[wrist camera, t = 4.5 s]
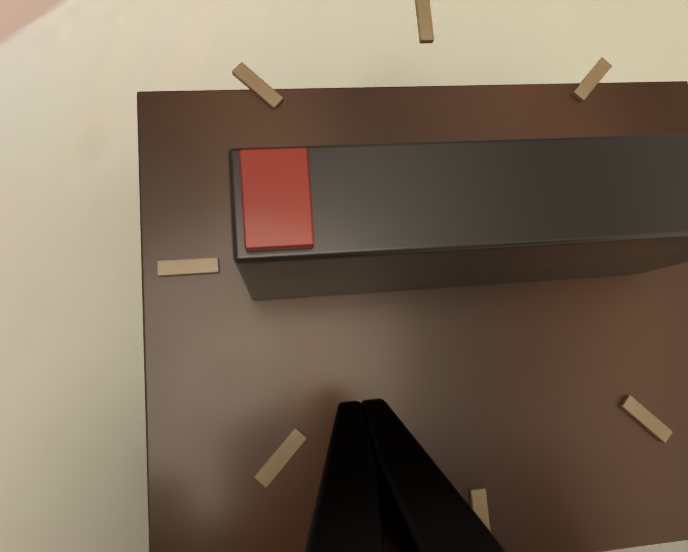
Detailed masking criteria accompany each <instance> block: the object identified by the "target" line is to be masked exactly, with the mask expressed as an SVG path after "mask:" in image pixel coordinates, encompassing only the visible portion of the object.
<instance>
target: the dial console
mask: <svg viewBox="0 0 688 552" xmlns="http://www.w3.org/2000/svg"><path fill="white" fill-rule="evenodd" d="M415 5H416V14H417V23H418V32H419V41H420V43H433V41H434V35H433V27H432V18H431V9H430V1H429V0H415ZM611 67H612V65H611V64H609V63H608V62H607V61H606V60H605V59H604V58H601V59H600V60H599V61H598V62H597V64H596V65H595V66H594V67H593V68H592V70H591V71H590V72H589V73H588V74H587V76H586V77H585V78H584V79H583V80H582V82H581V83H575V84H522V85H470V86H417V87H364V88H312V89H272V88H271V87H270V86H269V85H268V84H267V83H265V82H264V81H263V80H262V79H261V78H260V77H258V76H257V75H256V74H255V73H254V72H253V71H251V70H250V69H249V68H248V67H247V66H246V65H244V64H243V63H242V62H241V63H240V64H239V65H238V66H237V67H236V68H235V69H234V70H233V71H232V74H233V75H234V76H235V77H236V78H237V79H238V80H240V81H241V82H242V83H243V84H244V85H245V86H247V87H248V88H249V89H250V90H207V91H154V92H137V115H138V152H139V189H140V226H141V263H142V300H143V337H144V374H145V411H146V447H147V484H148V521H149V552H304V549H305V544H306V540H307V536H308V531H309V527H310V523H311V518H312V514H313V510H314V505H315V501H316V497H317V493H318V488H319V484H320V480H321V475H322V471H323V467H324V462H325V458H326V454H327V449H328V445H329V441H330V436H331V432H332V428H333V423H334V419H335V415H336V411H337V407H338V404H339V403H340V402H346V401H359V402H360V403H361V402H362V401H363V400H367V399H378V398H380V399H383V400H385V401H386V403H387V404H388V405H389V406H390V408H391V409H392V410H393V411H394V412H395V414H396V415H397V416H398V417H399V419H400V420H401V421H402V422H403V424H404V425H405V426H406V427H407V429H408V430H409V431H410V432H411V434H412V435H413V436H414V437H415V438H416V440H417V441H418V442H419V443H420V445H421V446H422V447H423V448H424V450H425V451H426V452H427V453H428V455H429V456H430V457H431V458H432V460H433V461H434V462H435V463H436V465H437V466H438V467H439V468H440V469H441V471H442V472H443V473H444V474H445V476H446V477H447V478H448V479H449V481H450V482H451V483H452V484H453V486H454V487H455V488H456V489H457V491H458V492H459V493H460V494H461V495H462V497H463V498H464V499H465V500H466V502H467V503H468V504H469V505H470V507H471V508H472V509H473V510H474V512H475V513H476V514H477V515H478V517H479V518H480V519H481V520H482V521H483V523H484V524H485V525H486V526H487V528H488V529H489V530H490V531H491V533H492V534H493V535H494V536H495V538H496V539H497V540H498V541H499V543H500V544H501V545H502V546H503V548H504V549H505V552H601V551H609V550H616V549H623V548H631V547H638V546H645V545H652V544H660V543H667V542H674V541H681V540H688V262H685V263H681V264H677V265H673V266H669V267H665V268H661V269H657V270H652V271H648V272H644V273H640V274H631V275H616V276H601V277H587V278H572V279H557V280H542V281H528V282H513V283H498V284H484V285H469V286H454V287H440V288H425V289H410V290H395V291H381V292H366V293H351V294H337V295H322V296H307V297H292V298H278V299H263V300H253V299H252V298H251V296H250V294H249V292H248V290H247V288H246V286H245V283H244V281H243V279H242V277H241V275H240V273H239V271H238V268H237V266H236V264H235V262H234V260H233V254H232V235H231V216H230V197H229V177H228V158H227V154H228V151H229V149H232V148H258V147H288V146H319V145H350V144H381V143H411V142H442V141H473V140H504V139H534V138H565V137H596V136H627V135H657V134H688V82H687V81H680V82H627V83H599V81H600V80H601V79H602V78H603V76H604V75H605V74H606V73H607V72H608V70H609V69H610V68H611Z"/></svg>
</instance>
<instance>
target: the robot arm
mask: <svg viewBox="0 0 688 552" xmlns="http://www.w3.org/2000/svg"><path fill="white" fill-rule="evenodd" d="M304 552H505V549H504V548H503V546H502V545H501V544H500V543H499V541H498V540H497V539H496V538H495V536H494V535H493V534H492V533H491V531H490V530H489V529H488V528H487V526H486V525H485V524H484V523H483V521H482V520H481V519H480V518H479V517H478V515H477V514H476V513H475V512H474V510H473V509H472V508H471V507H470V505H469V504H468V503H467V502H466V500H465V499H464V498H463V497H462V495H461V494H460V493H459V492H458V491H457V489H456V488H455V487H454V486H453V484H452V483H451V482H450V481H449V479H448V478H447V477H446V476H445V474H444V473H443V472H442V471H441V469H440V468H439V467H438V466H437V465H436V463H435V462H434V461H433V460H432V458H431V457H430V456H429V455H428V453H427V452H426V451H425V450H424V448H423V447H422V446H421V445H420V443H419V442H418V441H417V440H416V438H415V437H414V436H413V435H412V434H411V432H410V431H409V430H408V429H407V427H406V426H405V425H404V424H403V422H402V421H401V420H400V419H399V417H398V416H397V415H396V414H395V412H394V411H393V410H392V409H391V408H390V406H389V405H388V404H387V403H386V401H385V400H383V399H380V398H378V399H367V400H363V401H362V402H361V403H360V402H359V401H346V402H340V403H339V404H338V407H337V411H336V415H335V419H334V423H333V428H332V432H331V436H330V441H329V445H328V449H327V454H326V458H325V462H324V467H323V471H322V475H321V480H320V484H319V488H318V493H317V497H316V501H315V505H314V510H313V514H312V518H311V523H310V527H309V531H308V536H307V540H306V544H305V549H304Z"/></svg>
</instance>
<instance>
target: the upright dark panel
mask: <svg viewBox="0 0 688 552" xmlns="http://www.w3.org/2000/svg"><path fill="white" fill-rule="evenodd" d="M227 158H228V177H229V197H230V216H231V235H232V254H233V260H234V262H235V264H236V266H237V268H238V271H239V273H240V275H241V277H242V279H243V281H244V283H245V286H246V288H247V290H248V292H249V294H250V296H251V298H252V299H253V300H263V299H278V298H292V297H307V296H322V295H337V294H351V293H366V292H381V291H395V290H410V289H425V288H440V287H454V286H469V285H484V284H498V283H513V282H528V281H542V280H557V279H572V278H587V277H601V276H616V275H631V274H640V273H644V272H648V271H652V270H657V269H661V268H665V267H669V266H673V265H677V264H681V263H685V262H688V134H657V135H627V136H596V137H565V138H534V139H504V140H473V141H442V142H411V143H381V144H350V145H319V146H288V147H258V148H232V149H229V151H228V154H227Z"/></svg>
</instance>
